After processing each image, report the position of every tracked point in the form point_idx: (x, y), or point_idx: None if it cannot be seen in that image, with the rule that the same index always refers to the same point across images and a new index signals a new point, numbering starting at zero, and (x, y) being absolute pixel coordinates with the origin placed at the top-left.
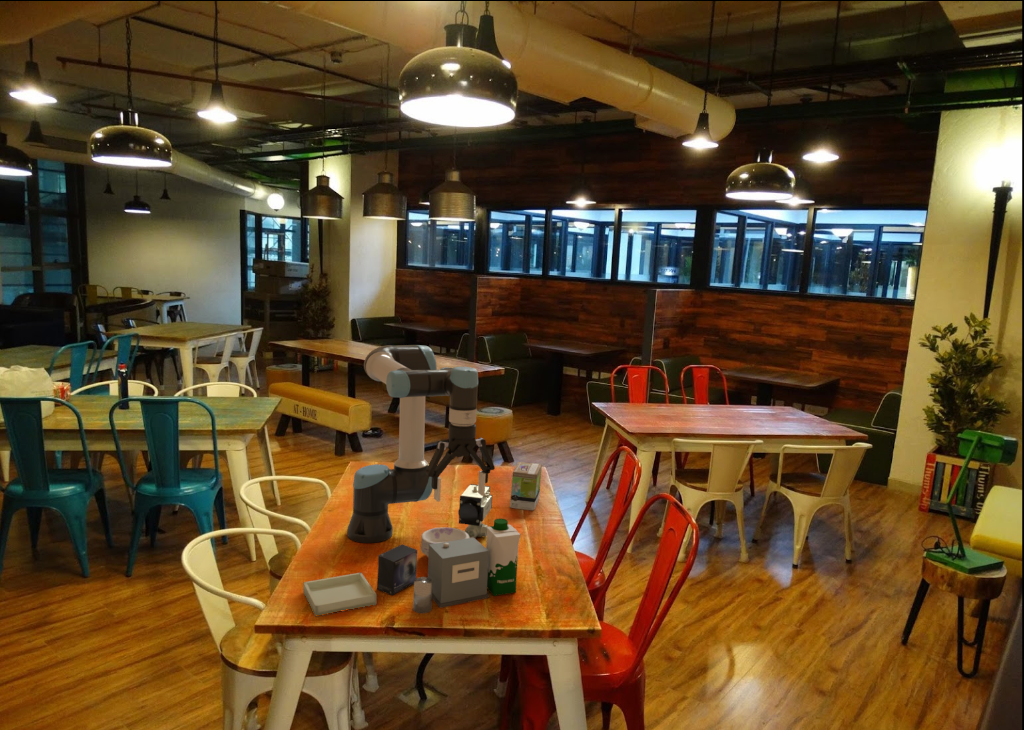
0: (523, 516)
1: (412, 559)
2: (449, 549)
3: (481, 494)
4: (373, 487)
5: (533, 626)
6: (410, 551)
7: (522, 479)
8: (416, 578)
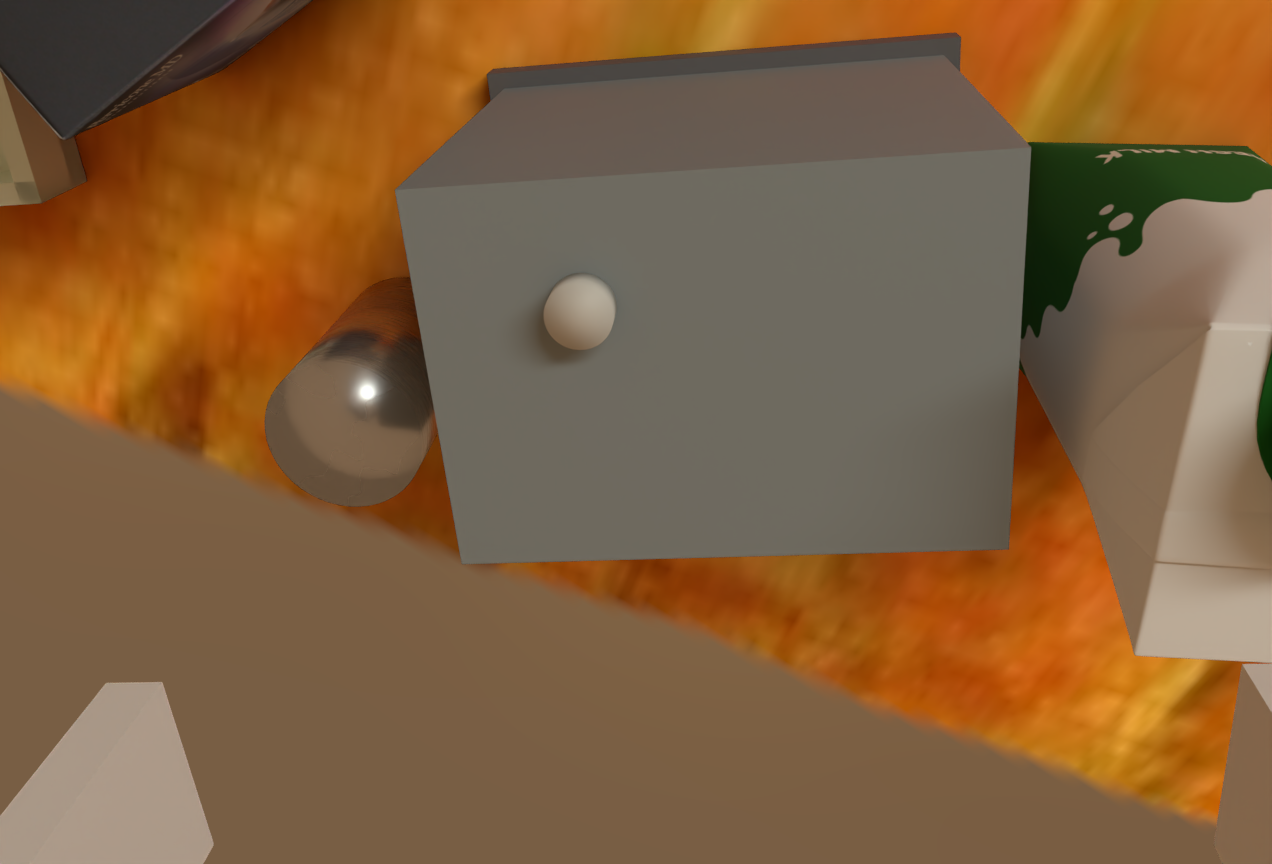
0: None
1: None
2: (595, 390)
3: (1225, 832)
4: None
5: (1032, 755)
6: None
7: None
8: (293, 374)
